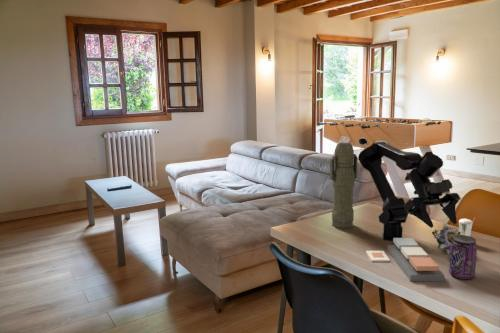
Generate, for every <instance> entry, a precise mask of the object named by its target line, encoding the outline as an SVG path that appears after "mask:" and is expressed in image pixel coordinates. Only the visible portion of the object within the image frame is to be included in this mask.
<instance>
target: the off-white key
mask: <svg viewBox="0 0 500 333" xmlns="http://www.w3.org/2000/svg"><path fill="white" fill-rule="evenodd" d="M401 252H402V253H403V255H404V256H405V257H406V258H407V259H409V257H429V254H428V253H427V252H426V251H425V250H424V249H423V248H422V247H421V246H418V247H401Z"/></svg>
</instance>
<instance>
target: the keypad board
mask: <svg viewBox="0 0 500 333" xmlns="http://www.w3.org/2000/svg"><path fill="white" fill-rule="evenodd" d="M387 251H388V253H389V255H390V256H391V257H392V258H393V260H394V261H395V262H396V264H397V265H398V266H399V268H400V270H401V271H402V272H403V274H404V275H405V276H406V278H408V280H409V282H445V275H446V274H444V273H443V272H442V270H440V269H439V271H416V269H415V268H414V267H413V266H412V264H411V263H410V262H409V259H407V258H406V257H405V256H404V255H403V253H402V252H401V249H399V248H398V247H397V246H396V245H395V244H387Z"/></svg>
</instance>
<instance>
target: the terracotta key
mask: <svg viewBox="0 0 500 333" xmlns="http://www.w3.org/2000/svg"><path fill="white" fill-rule="evenodd" d="M409 262H410V263H411V264H412V266H413V267H414V268H415V269H416V271H439V270H440V265H439V264H438V263H437V262H436V261H435V260H433V258H432V257H430V256H428V257H409Z"/></svg>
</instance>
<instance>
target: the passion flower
mask: <svg viewBox="0 0 500 333" xmlns="http://www.w3.org/2000/svg"><path fill="white" fill-rule="evenodd" d="M442 226H443V227H442V229H435V230H433V231H432V233H431V234H432V235H433V238H434V239H436V242H437V245H438V246H437V248H438V249H439V250H442V249H444V252H445V254H446V255H450V251H451V242H452V240H453V237H454V236H456V235H464V234H462V233H460V232H459V231H458V229H457V226H453V227H451V226H448V225H447V223H445V222H444V224H443V225H442Z"/></svg>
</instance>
